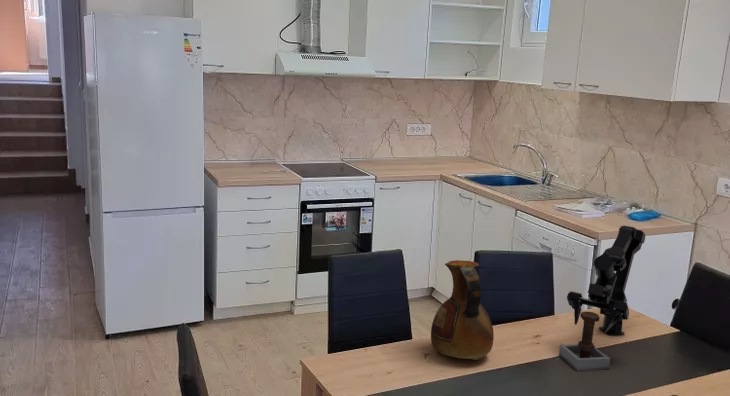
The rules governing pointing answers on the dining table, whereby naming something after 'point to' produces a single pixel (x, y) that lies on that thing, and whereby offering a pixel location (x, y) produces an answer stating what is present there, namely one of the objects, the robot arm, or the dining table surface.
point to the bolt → (587, 333)
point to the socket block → (593, 363)
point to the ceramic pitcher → (463, 317)
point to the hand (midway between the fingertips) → (589, 328)
